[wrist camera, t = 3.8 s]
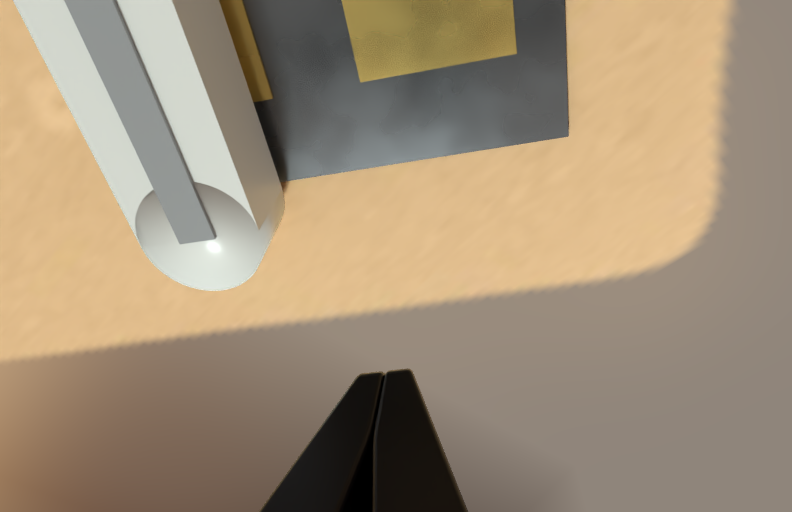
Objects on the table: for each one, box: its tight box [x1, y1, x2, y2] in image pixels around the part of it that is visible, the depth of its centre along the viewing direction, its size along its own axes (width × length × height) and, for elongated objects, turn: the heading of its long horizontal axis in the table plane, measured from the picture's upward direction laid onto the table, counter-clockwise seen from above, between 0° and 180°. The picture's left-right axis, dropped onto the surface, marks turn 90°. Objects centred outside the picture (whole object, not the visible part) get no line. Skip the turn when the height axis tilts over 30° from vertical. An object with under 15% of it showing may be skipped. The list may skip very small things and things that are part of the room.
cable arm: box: [13, 0, 285, 291], centre depth 15 cm, size 4×16×3 cm, turn 11°
